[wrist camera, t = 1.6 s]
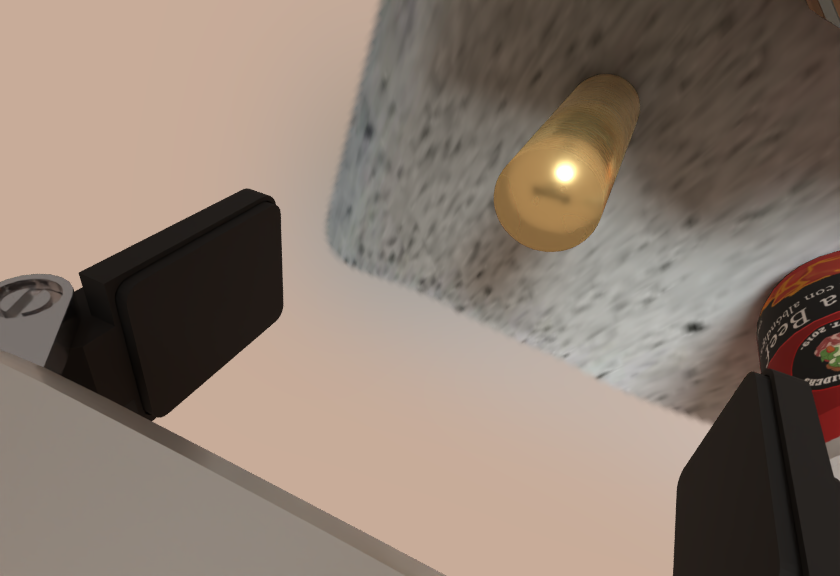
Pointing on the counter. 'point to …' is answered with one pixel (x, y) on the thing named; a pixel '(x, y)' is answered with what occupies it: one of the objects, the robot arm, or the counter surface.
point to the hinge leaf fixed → (815, 6)
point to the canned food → (808, 339)
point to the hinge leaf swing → (830, 12)
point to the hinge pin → (568, 167)
